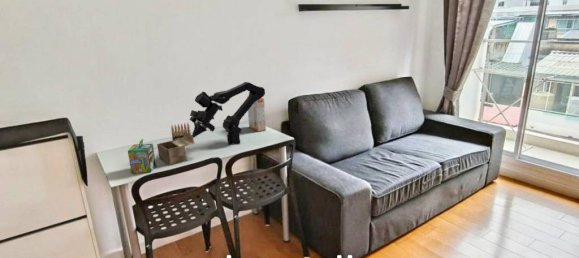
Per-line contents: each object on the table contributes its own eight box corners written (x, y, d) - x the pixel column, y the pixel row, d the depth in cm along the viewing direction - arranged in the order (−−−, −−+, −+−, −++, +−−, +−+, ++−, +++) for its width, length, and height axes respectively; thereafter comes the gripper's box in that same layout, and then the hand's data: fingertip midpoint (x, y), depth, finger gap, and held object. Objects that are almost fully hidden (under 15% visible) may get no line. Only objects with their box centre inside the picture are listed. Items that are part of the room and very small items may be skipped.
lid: (185, 139, 183) (184, 131, 182) (194, 143, 175) (193, 136, 174) (171, 142, 179) (170, 135, 177) (180, 147, 171) (179, 139, 170)
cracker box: (266, 130, 218) (264, 98, 213) (257, 132, 216) (255, 99, 210) (257, 125, 230) (255, 94, 224) (248, 127, 227) (246, 96, 221)
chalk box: (137, 166, 168) (132, 137, 164) (156, 165, 169) (152, 136, 165) (130, 174, 160) (125, 143, 155) (151, 172, 160) (146, 142, 156)
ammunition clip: (173, 145, 197) (170, 125, 194) (172, 144, 199) (170, 124, 195) (192, 142, 201) (189, 122, 198) (191, 141, 203) (189, 121, 199)
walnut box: (176, 154, 183) (174, 139, 180) (186, 160, 173) (184, 145, 171) (159, 158, 177) (157, 144, 175) (169, 165, 168) (166, 150, 165)
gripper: (190, 101, 185) (173, 125, 182) (207, 106, 172) (188, 132, 168) (205, 113, 192) (189, 136, 189) (222, 118, 179) (205, 144, 175)
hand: (192, 137), depth 180 cm, fingers closed
